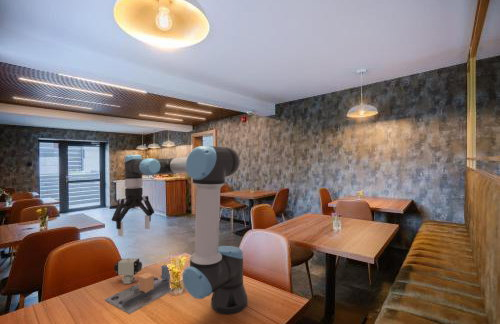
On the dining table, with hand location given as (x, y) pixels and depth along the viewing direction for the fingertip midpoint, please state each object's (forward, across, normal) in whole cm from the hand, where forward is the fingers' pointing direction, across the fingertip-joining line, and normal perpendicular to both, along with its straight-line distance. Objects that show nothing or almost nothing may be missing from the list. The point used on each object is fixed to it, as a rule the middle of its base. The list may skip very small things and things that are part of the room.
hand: (134, 232), depth 117 cm
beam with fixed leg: (+25, +1, +11) cm, 28 cm away
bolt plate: (+26, +2, +8) cm, 28 cm away
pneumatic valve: (+26, -2, -8) cm, 27 cm away
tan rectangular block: (+25, +2, +11) cm, 27 cm away
